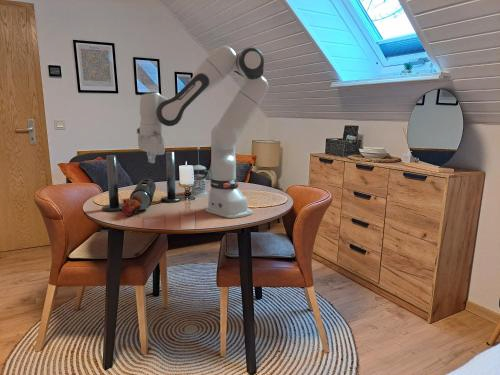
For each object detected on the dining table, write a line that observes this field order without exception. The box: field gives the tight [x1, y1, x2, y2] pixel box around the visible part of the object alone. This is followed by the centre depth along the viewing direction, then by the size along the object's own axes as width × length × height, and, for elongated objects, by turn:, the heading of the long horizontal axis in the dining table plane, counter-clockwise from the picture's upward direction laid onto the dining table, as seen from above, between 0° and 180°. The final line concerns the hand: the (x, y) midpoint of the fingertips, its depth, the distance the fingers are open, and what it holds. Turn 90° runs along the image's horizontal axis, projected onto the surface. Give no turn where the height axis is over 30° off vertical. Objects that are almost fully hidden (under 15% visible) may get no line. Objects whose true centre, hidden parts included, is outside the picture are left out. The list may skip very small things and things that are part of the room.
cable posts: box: [102, 151, 183, 213], centre depth 167 cm, size 10×38×24 cm, turn 128°
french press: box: [190, 146, 212, 196], centre depth 193 cm, size 10×12×25 cm
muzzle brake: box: [129, 177, 157, 211], centre depth 169 cm, size 10×28×10 cm, turn 10°
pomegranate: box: [122, 198, 141, 217], centre depth 152 cm, size 7×7×10 cm
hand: (151, 162), depth 157 cm, fingers closed
